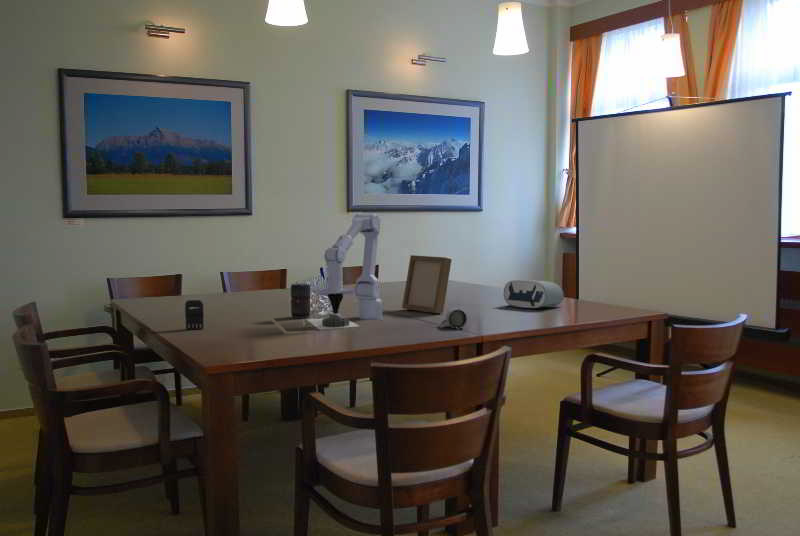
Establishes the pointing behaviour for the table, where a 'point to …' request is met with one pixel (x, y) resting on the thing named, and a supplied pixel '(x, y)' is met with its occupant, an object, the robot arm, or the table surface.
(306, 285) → the camera lens
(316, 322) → the board
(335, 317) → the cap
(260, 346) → the table surface
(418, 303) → the photo frame
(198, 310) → the black battery charger
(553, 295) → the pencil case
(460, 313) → the ceramic mug
